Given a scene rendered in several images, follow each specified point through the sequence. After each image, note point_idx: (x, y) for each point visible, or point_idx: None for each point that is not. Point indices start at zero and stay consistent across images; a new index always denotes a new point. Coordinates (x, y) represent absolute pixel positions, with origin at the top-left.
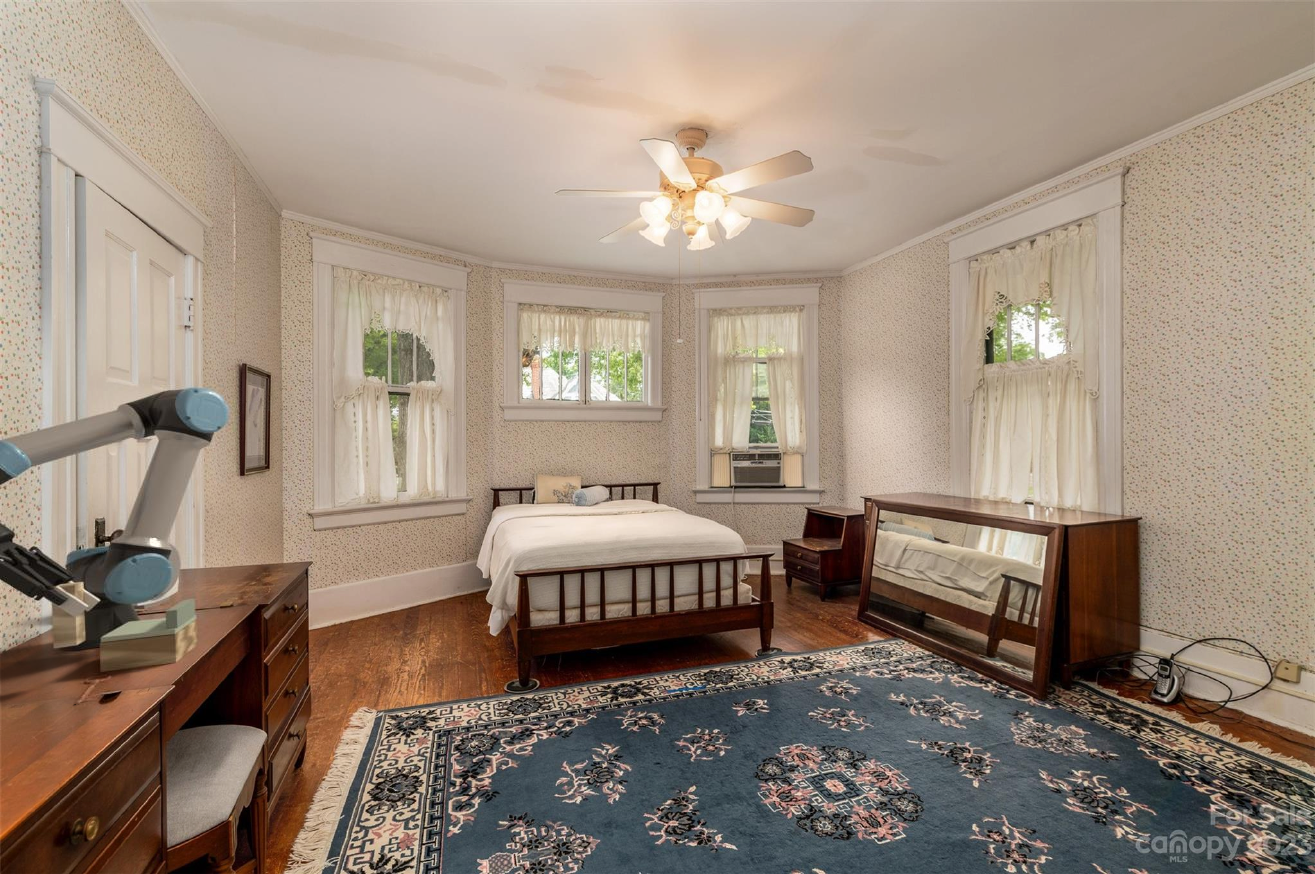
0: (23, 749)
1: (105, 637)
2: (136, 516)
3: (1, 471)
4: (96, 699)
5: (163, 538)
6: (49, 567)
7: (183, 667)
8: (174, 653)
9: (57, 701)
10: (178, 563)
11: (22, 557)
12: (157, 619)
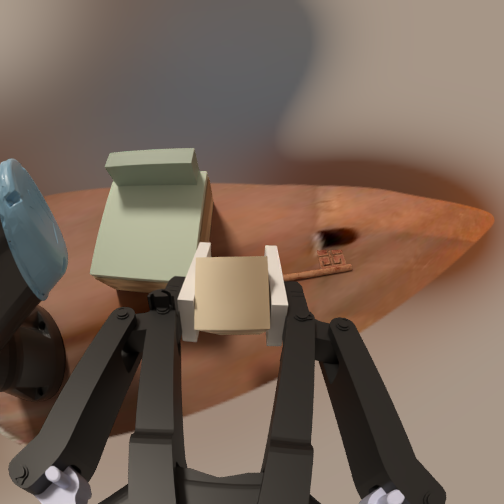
0: (444, 261)
1: None
2: None
3: None
4: (340, 250)
5: None
6: (153, 379)
7: (245, 186)
8: (211, 196)
9: (328, 300)
10: None
11: (264, 486)
12: (105, 226)
